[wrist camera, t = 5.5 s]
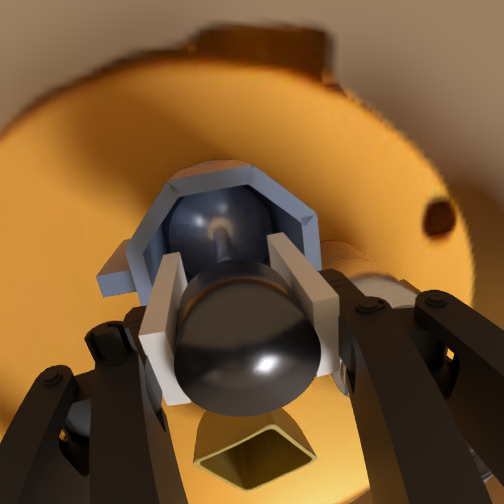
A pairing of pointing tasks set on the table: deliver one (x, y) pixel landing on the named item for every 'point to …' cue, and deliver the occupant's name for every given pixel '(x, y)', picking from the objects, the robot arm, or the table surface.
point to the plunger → (237, 310)
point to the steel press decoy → (365, 283)
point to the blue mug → (192, 182)
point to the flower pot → (251, 448)
